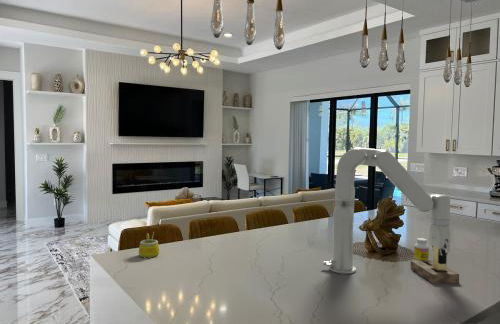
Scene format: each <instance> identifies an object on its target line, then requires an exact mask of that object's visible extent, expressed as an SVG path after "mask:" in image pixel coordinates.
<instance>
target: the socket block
mask: <svg viewBox="0 0 500 324" xmlns="http://www.w3.org/2000/svg"><path fill="white" fill-rule="evenodd" d="M410 270H412V271H413V272H414V273H416V274H418V275H419V276H421V277H422V278H424V279H425V280H427V281H429V282H430V283H432V285H433V284H460V273H458V272H457V271H454V270H453V269H451V268H449V267H447V266H446V270H436V269H435V268H433V259H431V260H430V259H428V260H422V261H414V260H410Z"/></svg>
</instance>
